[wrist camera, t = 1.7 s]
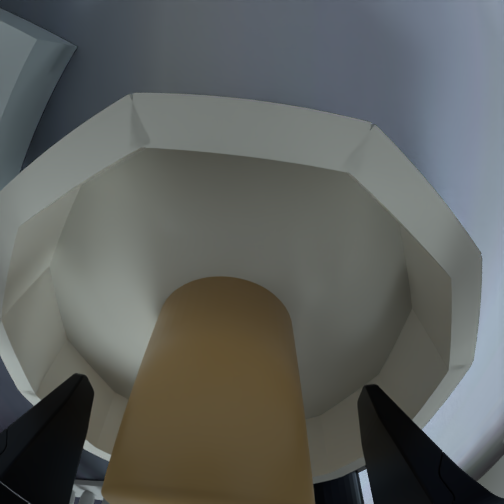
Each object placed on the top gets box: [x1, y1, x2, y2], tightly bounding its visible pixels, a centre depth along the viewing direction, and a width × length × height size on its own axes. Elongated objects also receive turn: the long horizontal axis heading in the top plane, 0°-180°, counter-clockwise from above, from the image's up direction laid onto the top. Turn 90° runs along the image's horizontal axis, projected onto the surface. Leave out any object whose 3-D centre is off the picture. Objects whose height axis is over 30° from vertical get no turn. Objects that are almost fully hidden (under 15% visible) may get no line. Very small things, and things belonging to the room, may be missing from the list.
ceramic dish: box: [0, 93, 482, 484], centre depth 10 cm, size 16×16×4 cm
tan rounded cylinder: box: [101, 276, 315, 504], centre depth 8 cm, size 5×5×7 cm
